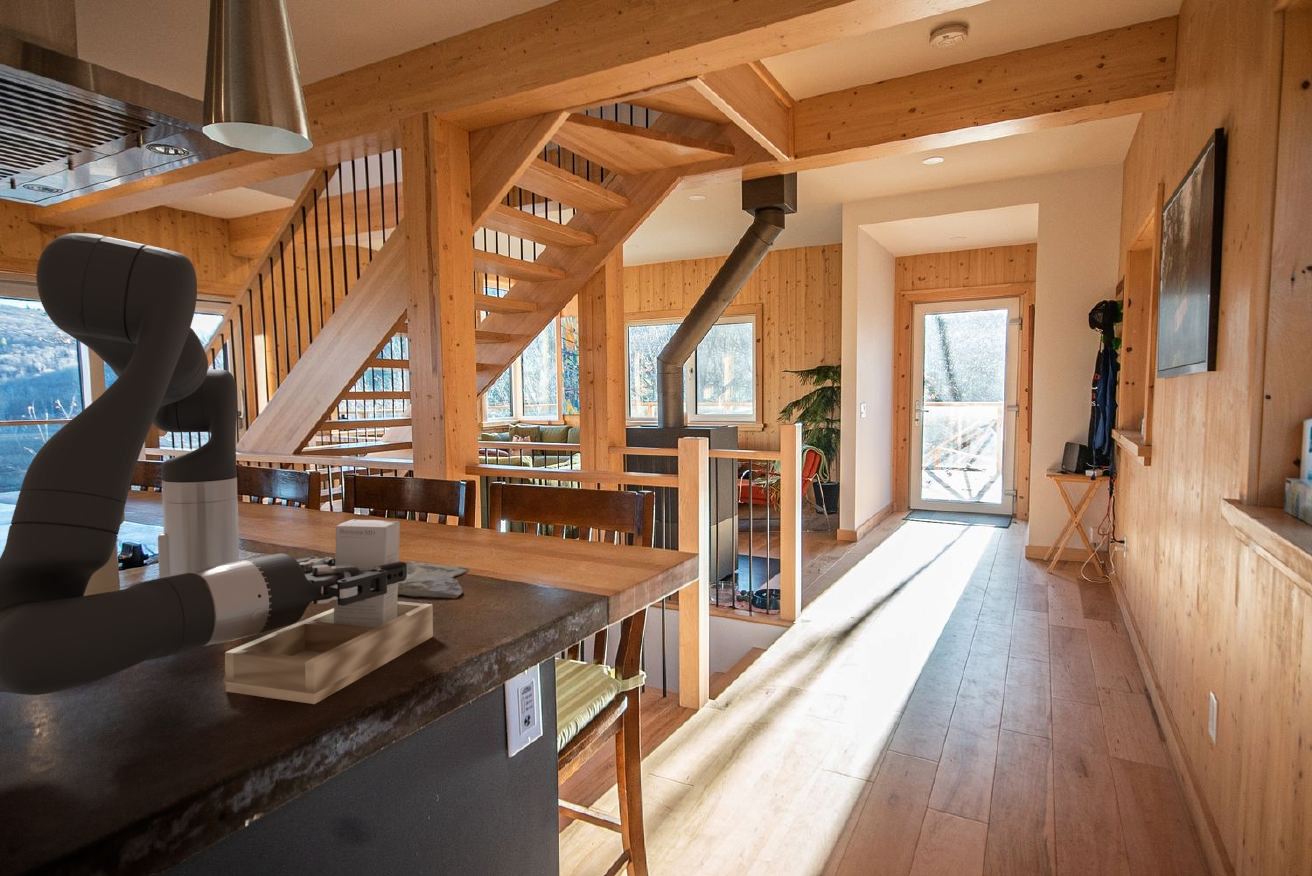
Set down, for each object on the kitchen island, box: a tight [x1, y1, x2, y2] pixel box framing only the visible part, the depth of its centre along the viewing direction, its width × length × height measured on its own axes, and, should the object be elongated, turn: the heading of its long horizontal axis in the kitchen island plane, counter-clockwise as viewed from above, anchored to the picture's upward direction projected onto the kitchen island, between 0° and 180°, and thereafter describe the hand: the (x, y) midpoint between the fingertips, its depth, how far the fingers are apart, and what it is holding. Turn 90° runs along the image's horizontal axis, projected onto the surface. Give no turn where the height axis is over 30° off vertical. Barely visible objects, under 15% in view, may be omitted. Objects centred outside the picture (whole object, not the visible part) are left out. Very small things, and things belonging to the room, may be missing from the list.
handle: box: [84, 512, 125, 596], centre depth 86 cm, size 5×6×15 cm
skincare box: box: [333, 519, 401, 628], centre depth 82 cm, size 6×4×12 cm
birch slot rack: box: [224, 600, 434, 705], centre depth 78 cm, size 20×10×4 cm, turn 165°
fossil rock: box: [398, 560, 471, 599], centre depth 112 cm, size 18×15×2 cm
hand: (382, 566), depth 84 cm, fingers closed on skincare box, 7 cm apart
